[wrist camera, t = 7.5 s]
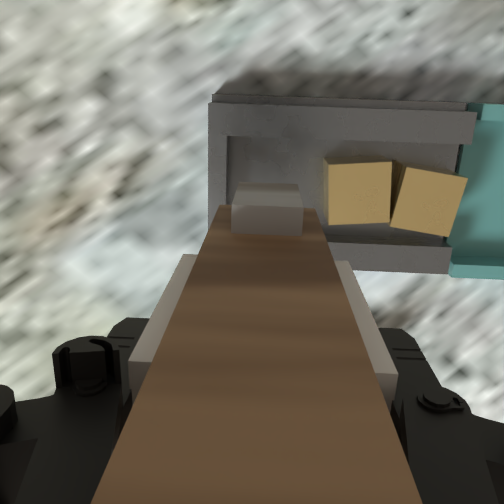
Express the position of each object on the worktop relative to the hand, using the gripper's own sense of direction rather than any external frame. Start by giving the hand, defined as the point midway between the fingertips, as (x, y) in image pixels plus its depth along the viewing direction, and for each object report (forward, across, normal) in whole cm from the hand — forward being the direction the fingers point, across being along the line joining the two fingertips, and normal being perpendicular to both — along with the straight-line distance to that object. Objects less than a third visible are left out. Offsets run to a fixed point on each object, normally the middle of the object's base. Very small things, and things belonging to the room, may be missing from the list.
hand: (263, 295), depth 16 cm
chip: (+19, +6, 0) cm, 20 cm away
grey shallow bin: (+20, +4, 0) cm, 20 cm away
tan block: (+19, +10, 0) cm, 21 cm away
